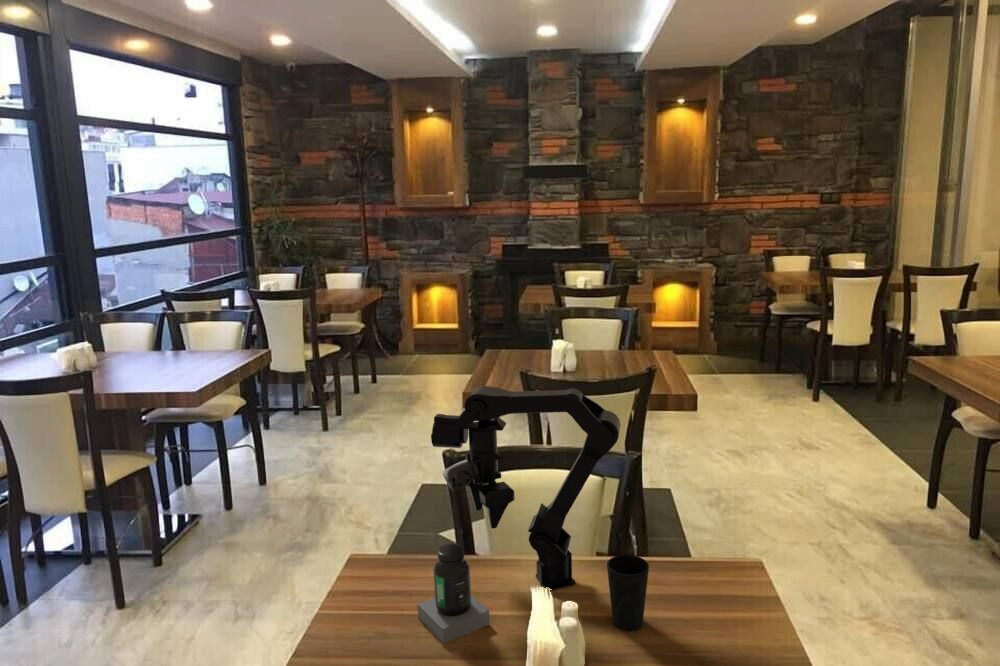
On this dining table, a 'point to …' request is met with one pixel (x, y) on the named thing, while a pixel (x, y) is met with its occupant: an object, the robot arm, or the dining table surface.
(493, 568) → the dining table surface
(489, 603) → the dining table surface
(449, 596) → the supplement bottle
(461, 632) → the plinth
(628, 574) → the cup
